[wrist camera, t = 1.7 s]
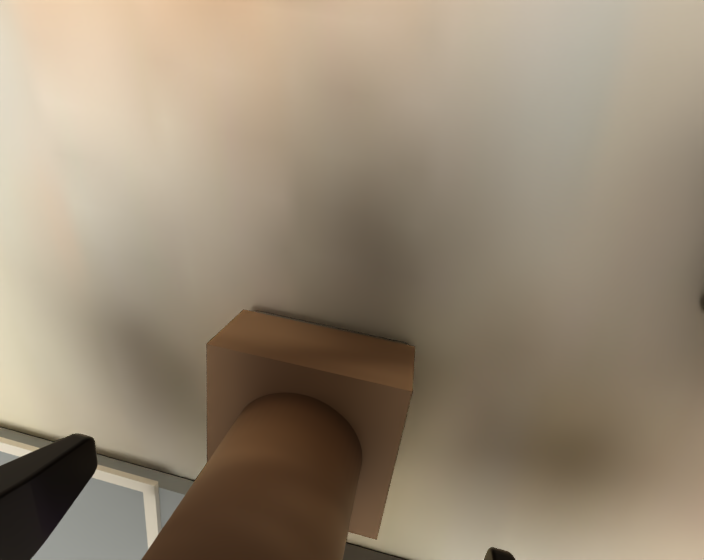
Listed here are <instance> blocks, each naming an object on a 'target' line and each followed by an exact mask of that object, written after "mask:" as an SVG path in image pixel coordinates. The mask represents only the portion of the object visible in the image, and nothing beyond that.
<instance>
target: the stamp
mask: <svg viewBox="0 0 704 560" xmlns="http://www.w3.org/2000/svg"><path fill="white" fill-rule="evenodd" d="M414 357H415V347H414V346H410V345H407V343H404V342H399V341H395V340H390V339H385V338H381V337H376V336H371V335H367V334H362V333H358V332H353V331H348V330H344V329H339V328H334V327H330V326H325V325H321V324H316V323H311V322H307V321H302V320H297V319H293V318H288V317H283V316H279V315H274V314H270V313H265V312H260V311H255V312H252V311H248V310H243V311H241V312H240V313H239V314H238V315H237V316H236V317H235V318H234V319H233V320H232V321H231V322H230V323H229V324H227V325H226V326H225V327H224V328H223V329H222V330H221V331H220V332H219V333H218V334H217V335H216V336H215V337H213V338H212V339H211V340H210V341H209V342H208V343H207V464H206V465H205V467H204V468H203V470H202V471H201V472H200V474H199V475H198V477H197V478H196V480H195V481H194V483H193V484H192V486H191V487H190V489H189V490H188V492H187V493H186V495H185V496H184V497H183V499H182V500H181V502H180V503H179V505H178V506H177V508H176V509H175V511H174V512H173V514H172V515H171V517H170V518H169V520H168V521H167V523H166V524H165V525H164V527H163V528H162V530H161V531H160V533H159V534H158V536H157V537H156V539H155V540H154V542H153V543H152V545H151V546H150V548H149V549H148V550H147V552H146V553H145V555H144V556H143V558H142V559H141V560H343V555H344V550H345V545H346V540H347V535H348V532H351V533H355V534H358V535H362V536H365V537H369V538H372V539H376V540H377V536H378V532H379V528H380V524H381V520H382V516H383V512H384V508H385V503H386V499H387V495H388V491H389V487H390V483H391V479H392V474H393V470H394V466H395V462H396V458H397V454H398V450H399V445H400V441H401V437H402V433H403V429H404V425H405V421H406V417H407V412H408V408H409V404H410V400H411V396H412V392H413V375H414Z"/></svg>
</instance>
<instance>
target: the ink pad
mask: <svg viewBox="0 0 704 560" xmlns="http://www.w3.org/2000/svg"><path fill="white" fill-rule="evenodd" d="M343 560H404V559H400V558H397V557H393V556H390V555H386V554H383V553H379V552H376V551H372V550H369V549H365V548H362V547H358V546H355V545H351V544H348V543H346V545H345V550H344V555H343Z"/></svg>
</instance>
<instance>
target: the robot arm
mask: <svg viewBox="0 0 704 560" xmlns="http://www.w3.org/2000/svg"><path fill="white" fill-rule="evenodd" d="M97 465H98V459H97V452H96V446H95V441H94V439H93V438H92V437H90V436H86V435H83V434H72V435H69V436H67V437H65V438H63V439H60V440H58V441H56V442H53V443H51V444H49V445H46V446H44V447H42V448H40V449H37V450H35V451H33V452H30V453H28V454H26V455H23V456H21V457H19V458H17V459H14V460H12V461H10V462H7V463H5V464H3V465H0V560H31V559H32V557H33V556H34V555H35V554H36V553H37V551H38V550H39V549H40V548H41V546H42V545H43V544H44V543H45V541H46V540H47V539H48V537H49V536H50V535H51V533H52V532H53V531H54V529H55V528H56V527H57V525H58V524H59V522H60V521H61V520H62V518H63V517H64V515H65V514H66V513H67V511H68V510H69V508H70V507H71V506H72V504H73V503H74V501H75V500H76V499H77V497H78V496H79V494H80V493H81V492H82V490H83V489H84V487H85V486H86V485H87V483H88V482H89V480H90V479H91V478H92V476H93V475H94V473H95V471H96V469H97ZM484 560H515V558H514V557H513V555H512V554H511V553H510V552H508V551H505V550H501V549H497V548H494V547H491V548H489V549H488V551H487V553H486V556H485V558H484Z"/></svg>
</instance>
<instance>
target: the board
mask: <svg viewBox="0 0 704 560" xmlns="http://www.w3.org/2000/svg"><path fill="white" fill-rule="evenodd" d="M51 443H53V442H51V441H48V440H44V439H41V438H37V437H34V436H30V435H26V434H23V433H19V432H16V431H12V430H8V429H5V428H1V427H0V465H3V464H5V463H7V462H10V461H12V460H14V459H17V458H19V457H21V456H23V455H26V454H28V453H30V452H33V451H35V450H37V449H40V448H42V447H44V446H46V445H49V444H51ZM97 459H98V465H97V469H96V471H95V473H94V475H93V476H92V478H91V479H90V480H89V482H88V483H87V485H86V486H85V487H84V489H83V490H82V492H81V493H80V494H79V496H78V497H77V499H76V500H75V501H74V503H73V504H72V506H71V507H70V508H69V510H68V511H67V513H66V514H65V515H64V517H63V518H62V520H61V521H60V522H59V524H58V525H57V527H56V528H55V529H54V531H53V532H52V533H51V535H50V536H49V537H48V539H47V540H46V541H45V543H44V544H43V545H42V546H41V548H40V549H39V550H38V551H37V553H36V554H35V555H34V556H33V557H32V559H31V560H141V559H142V558H143V556H144V555H145V553H146V552H147V550H148V549H149V548H150V546H151V545H152V543H153V542H154V540H155V539H156V537H157V536H158V534H159V533H160V531H161V530H162V528H163V527H164V525H165V524H166V523H167V521H168V520H169V518H170V517H171V515H172V514H173V512H174V511H175V509H176V508H177V506H178V505H179V503H180V502H181V500H182V499H183V497H184V496H185V495H186V493H187V492H188V490H189V489H190V487H191V486H192V484H193V483H194V481H191V480H188V479H184V478H180V477H177V476H173V475H170V474H166V473H163V472H159V471H155V470H152V469H148V468H145V467H141V466H137V465H134V464H130V463H127V462H123V461H120V460H116V459H112V458H109V457H105V456H102V455H98V454H97Z"/></svg>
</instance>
